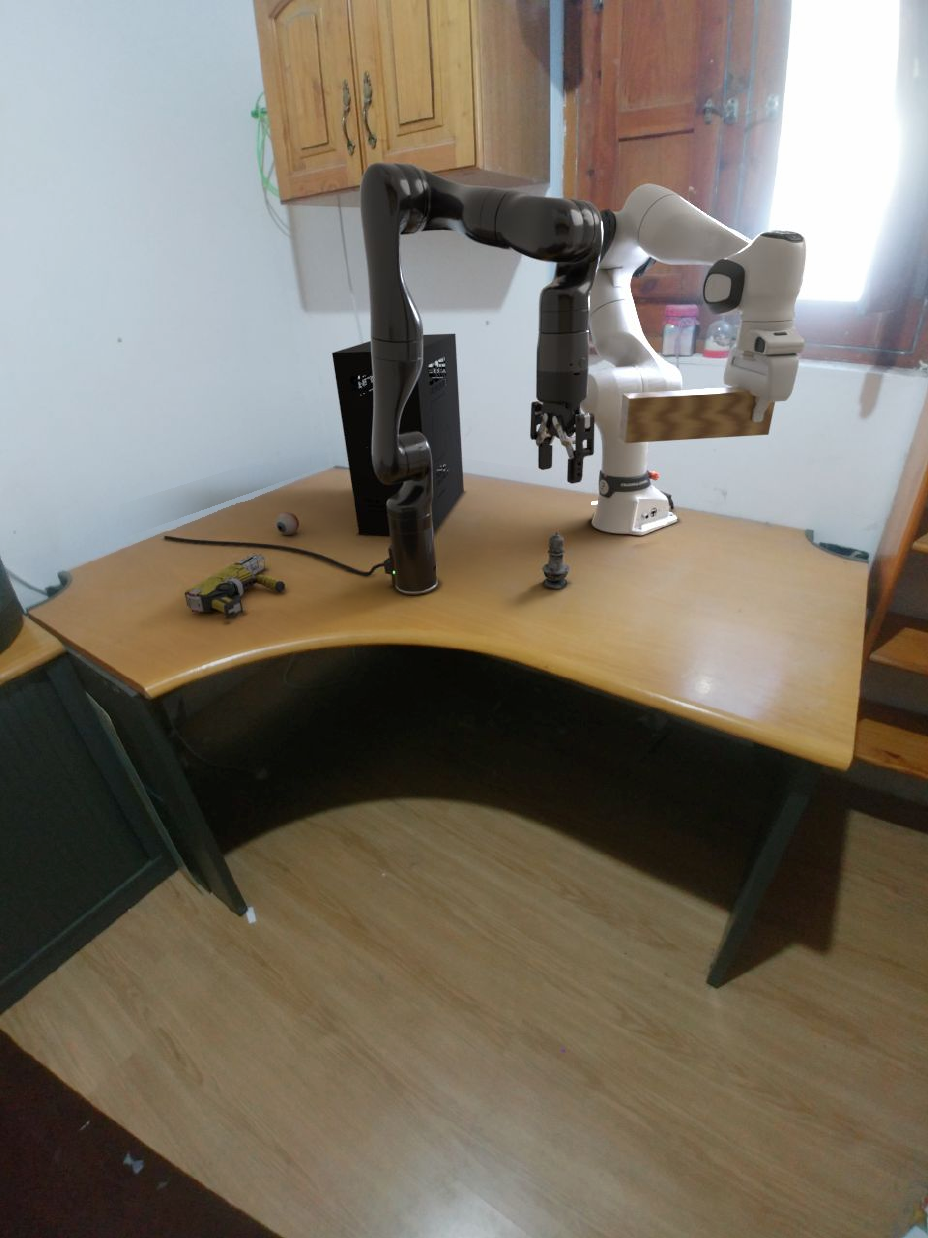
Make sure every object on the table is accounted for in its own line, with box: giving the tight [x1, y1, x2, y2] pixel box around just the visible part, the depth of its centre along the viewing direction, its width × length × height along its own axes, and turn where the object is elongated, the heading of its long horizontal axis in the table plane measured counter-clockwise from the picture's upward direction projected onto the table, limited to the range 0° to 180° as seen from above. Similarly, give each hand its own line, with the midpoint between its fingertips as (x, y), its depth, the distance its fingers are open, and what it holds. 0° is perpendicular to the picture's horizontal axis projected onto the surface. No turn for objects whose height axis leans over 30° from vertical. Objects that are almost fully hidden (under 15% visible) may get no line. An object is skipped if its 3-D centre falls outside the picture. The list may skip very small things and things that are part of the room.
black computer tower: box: [331, 333, 465, 536], centre depth 165 cm, size 38×20×45 cm, turn 167°
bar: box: [619, 386, 776, 443], centre depth 114 cm, size 27×5×8 cm, turn 92°
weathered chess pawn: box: [541, 530, 570, 589], centre depth 128 cm, size 6×6×12 cm
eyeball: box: [275, 511, 300, 536], centre depth 163 cm, size 6×6×6 cm
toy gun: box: [184, 552, 286, 620], centre depth 134 cm, size 5×24×15 cm
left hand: (559, 475), depth 96 cm, fingers open, 8 cm apart
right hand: (748, 417), depth 115 cm, fingers closed on bar, 5 cm apart
